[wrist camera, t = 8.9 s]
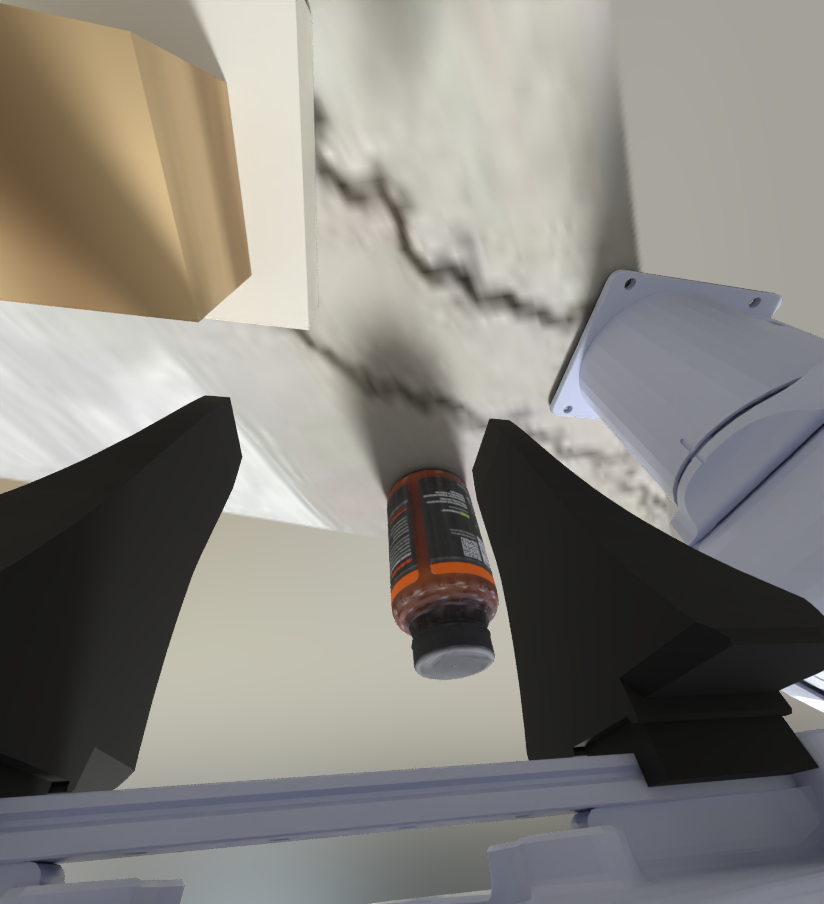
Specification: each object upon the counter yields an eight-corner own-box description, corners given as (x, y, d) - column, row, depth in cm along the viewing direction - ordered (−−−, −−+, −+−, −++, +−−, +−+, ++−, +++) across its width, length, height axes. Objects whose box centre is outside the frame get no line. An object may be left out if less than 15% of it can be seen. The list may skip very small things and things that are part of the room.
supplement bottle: (386, 523, 27) (390, 691, 19) (386, 465, 23) (391, 643, 15) (462, 520, 28) (501, 684, 19) (474, 464, 24) (528, 635, 15)
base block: (312, 16, 11) (294, -23, 9) (318, 307, 17) (308, 330, 14) (-19, -64, 10) (-142, -133, 7) (108, 281, 15) (60, 302, 13)
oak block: (226, 82, 10) (130, 31, 6) (251, 275, 13) (198, 322, 9) (22, 41, 9) (-236, -49, 5) (100, 255, 12) (-27, 297, 8)
